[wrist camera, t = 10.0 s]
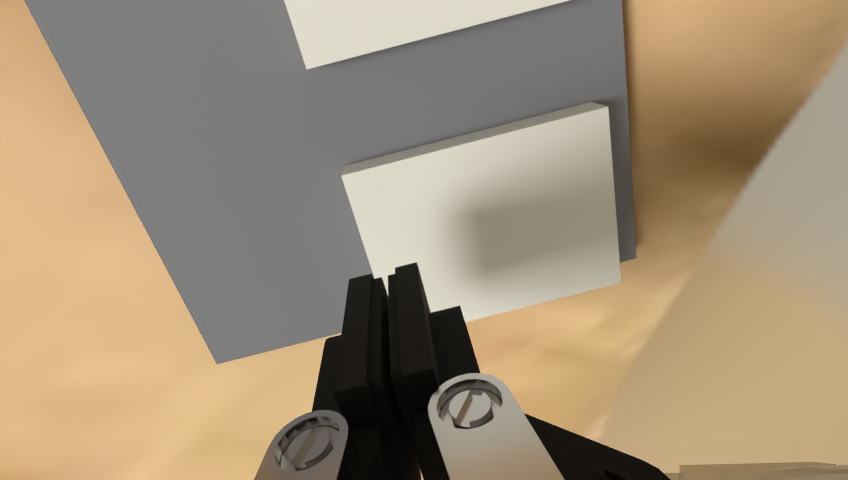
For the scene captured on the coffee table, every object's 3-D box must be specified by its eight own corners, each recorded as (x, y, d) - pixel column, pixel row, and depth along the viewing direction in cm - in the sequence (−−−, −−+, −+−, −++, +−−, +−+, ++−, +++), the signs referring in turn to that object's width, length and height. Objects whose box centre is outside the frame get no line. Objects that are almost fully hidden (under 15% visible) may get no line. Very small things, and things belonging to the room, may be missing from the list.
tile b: (341, 175, 13) (608, 106, 13) (344, 164, 15) (589, 101, 14) (394, 340, 16) (621, 283, 16) (393, 319, 17) (604, 266, 17)
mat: (-45, -160, 11) (-67, -171, 11) (591, -334, 11) (602, -354, 10) (222, 353, 18) (216, 364, 17) (628, 251, 17) (636, 257, 17)
